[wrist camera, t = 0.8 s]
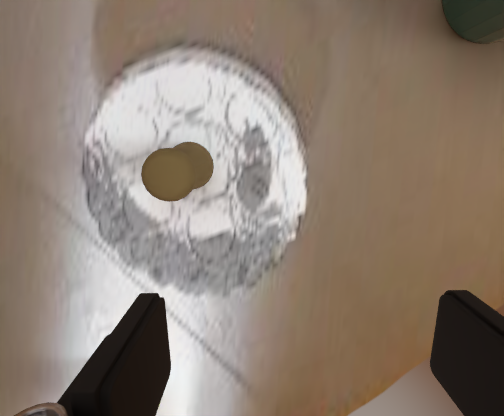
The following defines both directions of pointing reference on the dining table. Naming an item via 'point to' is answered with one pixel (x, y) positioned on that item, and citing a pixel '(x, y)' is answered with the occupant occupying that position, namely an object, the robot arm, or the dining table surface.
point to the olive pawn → (177, 171)
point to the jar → (476, 19)
